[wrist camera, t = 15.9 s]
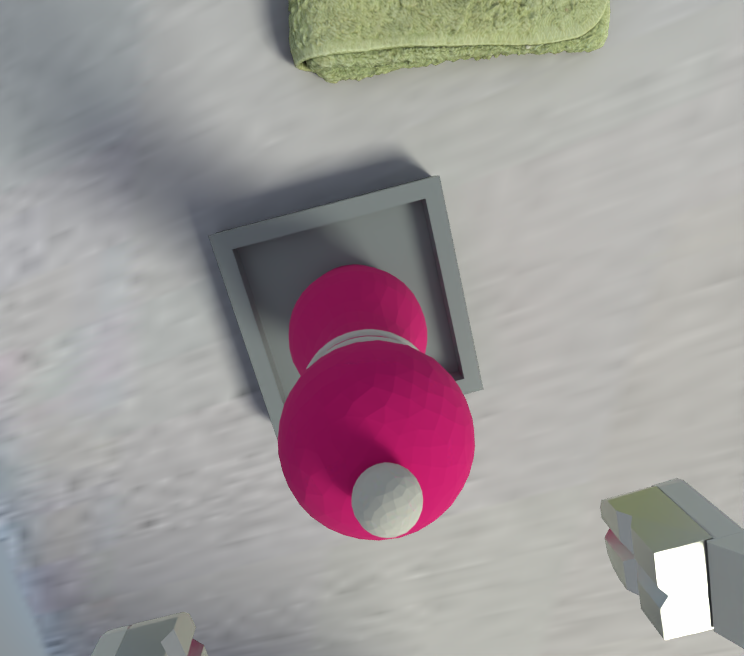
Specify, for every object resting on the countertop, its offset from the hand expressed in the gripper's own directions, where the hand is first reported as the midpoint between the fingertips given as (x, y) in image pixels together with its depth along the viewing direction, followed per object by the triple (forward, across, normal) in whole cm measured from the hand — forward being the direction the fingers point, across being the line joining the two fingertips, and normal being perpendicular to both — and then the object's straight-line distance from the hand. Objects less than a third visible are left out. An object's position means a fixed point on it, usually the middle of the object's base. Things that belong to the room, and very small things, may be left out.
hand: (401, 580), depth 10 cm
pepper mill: (+22, 0, 0) cm, 22 cm away
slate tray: (+23, 0, 0) cm, 23 cm away
